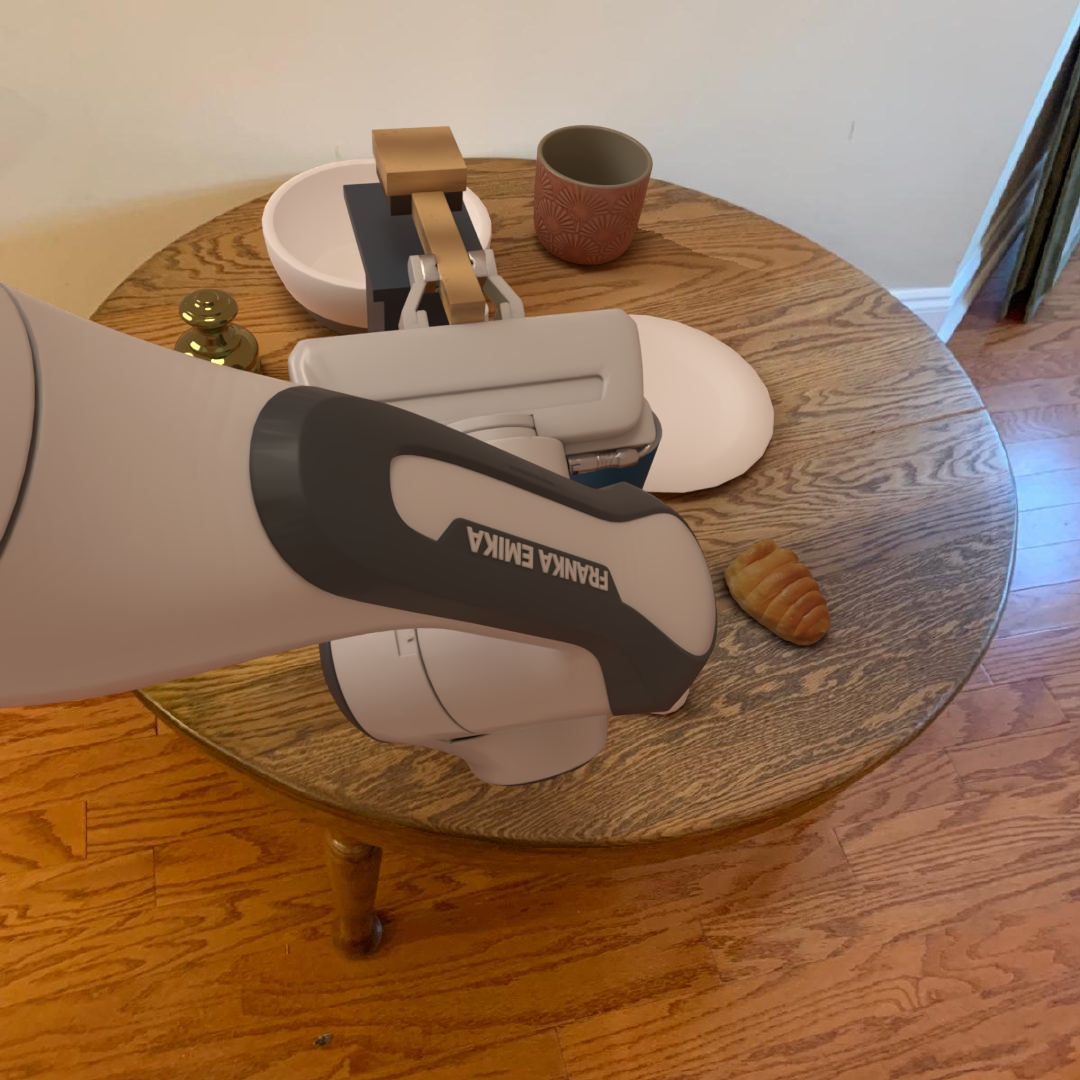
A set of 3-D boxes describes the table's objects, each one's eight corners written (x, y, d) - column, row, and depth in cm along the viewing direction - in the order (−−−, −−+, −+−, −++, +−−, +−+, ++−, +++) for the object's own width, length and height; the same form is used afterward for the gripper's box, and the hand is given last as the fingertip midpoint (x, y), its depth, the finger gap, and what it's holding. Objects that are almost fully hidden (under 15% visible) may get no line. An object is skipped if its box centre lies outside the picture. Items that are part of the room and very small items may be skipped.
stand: (382, 545, 82) (372, 289, 61) (358, 443, 88) (342, 184, 68) (475, 531, 84) (495, 279, 63) (444, 432, 90) (454, 177, 70)
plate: (743, 538, 86) (748, 525, 85) (479, 452, 89) (480, 439, 88) (789, 366, 102) (794, 354, 100) (563, 299, 105) (565, 286, 103)
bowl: (348, 203, 112) (344, 134, 105) (523, 271, 107) (530, 203, 101) (225, 307, 98) (212, 236, 92) (419, 389, 94) (419, 320, 87)
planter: (580, 290, 106) (594, 200, 98) (505, 234, 111) (513, 144, 103) (656, 251, 112) (677, 164, 104) (582, 200, 117) (596, 113, 109)
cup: (640, 571, 83) (678, 448, 71) (567, 591, 81) (593, 467, 69) (607, 512, 86) (638, 386, 75) (536, 530, 84) (557, 403, 73)
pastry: (844, 627, 81) (860, 601, 78) (786, 664, 78) (801, 638, 75) (768, 550, 86) (780, 523, 83) (710, 582, 83) (721, 555, 80)
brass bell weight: (242, 347, 95) (227, 261, 87) (277, 393, 91) (265, 307, 84) (169, 373, 92) (146, 285, 84) (203, 421, 88) (183, 334, 80)
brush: (510, 321, 56) (514, 277, 53) (423, 329, 54) (424, 285, 52) (447, 168, 65) (449, 125, 63) (373, 172, 64) (371, 129, 61)
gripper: (681, 448, 55) (632, 218, 56) (312, 500, 50) (269, 245, 51) (644, 473, 61) (601, 265, 62) (311, 522, 56) (273, 293, 57)
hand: (449, 256), depth 57 cm, fingers closed on brush, 2 cm apart
